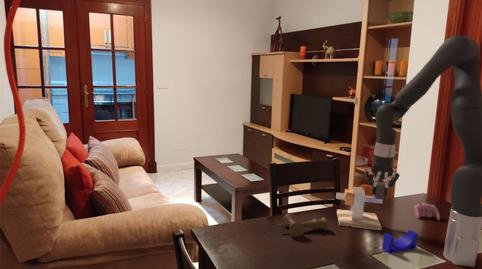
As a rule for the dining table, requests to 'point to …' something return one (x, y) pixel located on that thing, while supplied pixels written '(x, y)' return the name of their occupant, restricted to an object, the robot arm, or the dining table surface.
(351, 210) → the stand
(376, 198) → the shaft
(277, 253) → the dining table surface
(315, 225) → the kendama
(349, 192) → the block
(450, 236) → the robot arm
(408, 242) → the cable clip
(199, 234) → the dining table surface
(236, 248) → the dining table surface
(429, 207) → the video game controller
